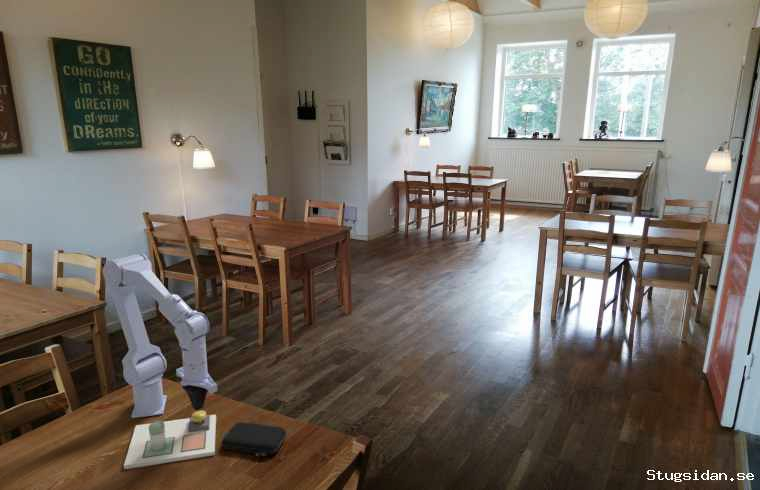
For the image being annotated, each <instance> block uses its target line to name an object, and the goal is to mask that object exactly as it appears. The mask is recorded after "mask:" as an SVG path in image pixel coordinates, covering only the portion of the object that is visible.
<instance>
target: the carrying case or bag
mask: <svg viewBox="0 0 760 490" xmlns="http://www.w3.org/2000/svg"><path fill="white" fill-rule="evenodd" d="M286 437H287V431H286V430H285V429H284V428H282V427H281V426H274V425H267V424H261V423H251V422H241V421H240V422H239V421H238V422H236V423H235V424H234V425H233V426H232V427H231V428H230V429H229V431H228V432H227V434H226V435H225V436H224V437H223V438H222V440H221V443H220V445H221V447H222V448H224V449H225V451H232V452H233V451H235V452H240V453H241V452H242V453H246V454H247V453H249V454H254V456H255V457H267V456H272V455H275V454H276V453H277V452H278V450H279V449H280V447H281V445H282V444H283V442H284V441H285V438H286Z"/></svg>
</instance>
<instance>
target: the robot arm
mask: <svg viewBox="0 0 760 490" xmlns="http://www.w3.org/2000/svg"><path fill="white" fill-rule="evenodd" d="M101 272H102V275H103V278H104V281H105V283H106V287H107V290H108V292H110V293H111V296H112V298H113V302H114V305H115V308H116V312H117V315H118V318H119V322H120V324H121V327H122V331H123V334H124V336H125V337H124V338H125V340H126V343H127V347H128V351H127V353H126V355H124V357H123V359H122V360H121V363H122V366H123V368H122V369H123V370H122V371H123V373H122V374H123V378H124V380H125V381H126V383H128V384H129V385H130V386H132V396H133V404H134V407H133V410H132V413H131V419H135V418H136V419H137V418H143V417H144V418H145V417H149V416H150V417H151V416H161V415H163V414H164V411H165V407H166V402H167V397H168V395H167V394H164V391H163V389H164V388H163V380H162V379H163V378H162V377H164V372H165V371H166V370H167V367H168V366H167V364H168V363H167V360H166V358H165V356H164V354H162V353H163V352H162V350H161V348H160V346H157V345H154V344H151V343H150V339H149V336H148V334H147V329H146V326H145V323H144V319H143V316H142V314H141V313H142V312H141V310H140V307H139V304H138V299H137V297H136V294H135V288H136V287H137V286H139V287H141V288H142V289H143V290H144V291H145V292H146V293H147V294H148V295H149V296H150V297H152V298H153V300H155V301H156V302H157V303H158V310H159V312H160V313H161V314H162V315H163V316H164V318H166V320H168V322H169V323H170V324H171V325H172V326H173V327H174V334H175V336H176V338H177V339H178V345H179V346H180V348H181V355H182V366H180V367H179V368H176V369H175V371H176V377H178V378H181V379H182V380H181V381H180V385H182V389H183V390H184V391H185V393H186V395H187V396H188V399H189V401H190V403H191V406H192V408H193V410H194V411H195V412H196V411H200V410H201V409H203V408H204V405H205V402H206V401H205V400H206V396H207V394H208V393H209V394H210V395H211V394H214V393H215V392H217V391H218V384H217V383H216V382H215V381H214V380H213V378H212V377H211V376H210V374H209V373H208V372H209V371H208V358H207V345H206V342H207V341H206V334H207V333H209V332H210V327H211V326H210V325H211V324H210V322H209V320H208V317H207V316H206V315H205V314H204V313H203V312H199V311H196V310H193V309H192V308H191V307H190V306H189V305H188V304H187V303H186V302H185V301H184V300H183V299H182V298H181V297H180V295H178V294H174V293H170V292H169V290H168V289H167V288H166V287H165V285H164V284H163V283H162V282H161V280H160V279H159V278H158V277H157V276H156V274H155V273H154V272H153V266H152V262H151V261H150V259H148V257H147V255H145V254H144V253H141V252H138V253H135V254H132V255H128V256H124V257H120V258H117V259H111V260H108V261H106V262H105V264H104V266H103V267H102V270H101Z"/></svg>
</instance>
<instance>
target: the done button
mask: <svg viewBox="0 0 760 490" xmlns="http://www.w3.org/2000/svg"><path fill="white" fill-rule="evenodd" d="M206 415H207V412H206V411H205V410H197V411H196V410H195V411H194V412H193V413H191V417H192V421H194V422H196V423H201V422H202V421H203V420H205V419H206Z"/></svg>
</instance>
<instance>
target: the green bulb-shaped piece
mask: <svg viewBox="0 0 760 490" xmlns="http://www.w3.org/2000/svg"><path fill="white" fill-rule="evenodd" d="M164 422H165V421H159V420H158V421H153V422H152V423H151V424H150V423H149V424H150V425H149V434H150V443H151V450H152V451H161V450H163V449H164V448H165V447H166V438H165V425H164Z"/></svg>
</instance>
